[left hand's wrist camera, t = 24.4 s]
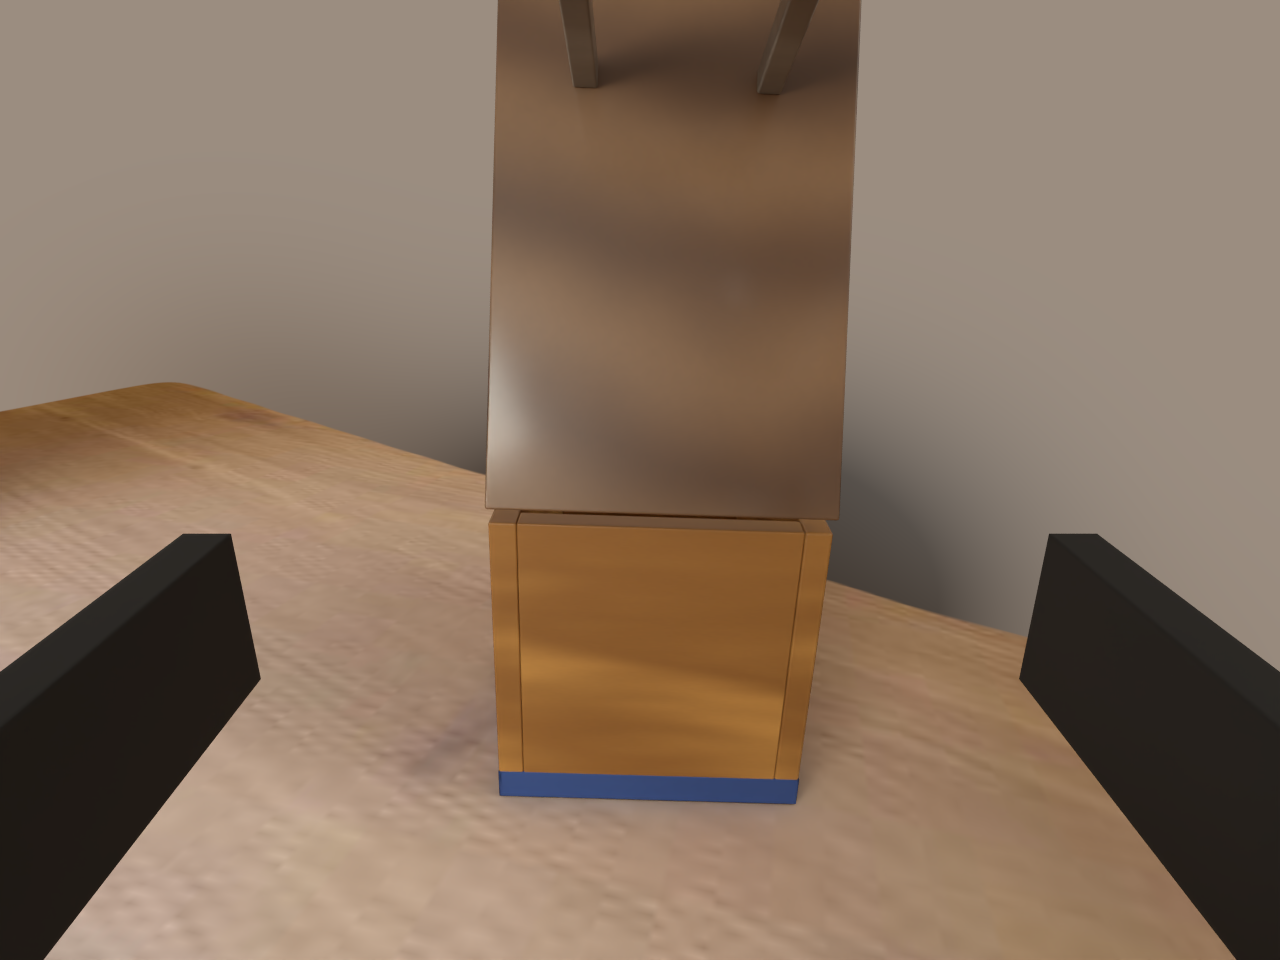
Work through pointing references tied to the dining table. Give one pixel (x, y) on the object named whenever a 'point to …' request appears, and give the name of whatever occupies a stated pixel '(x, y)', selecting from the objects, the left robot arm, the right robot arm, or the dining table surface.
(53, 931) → the left robot arm
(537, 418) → the lid
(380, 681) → the dining table surface
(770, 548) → the chest
